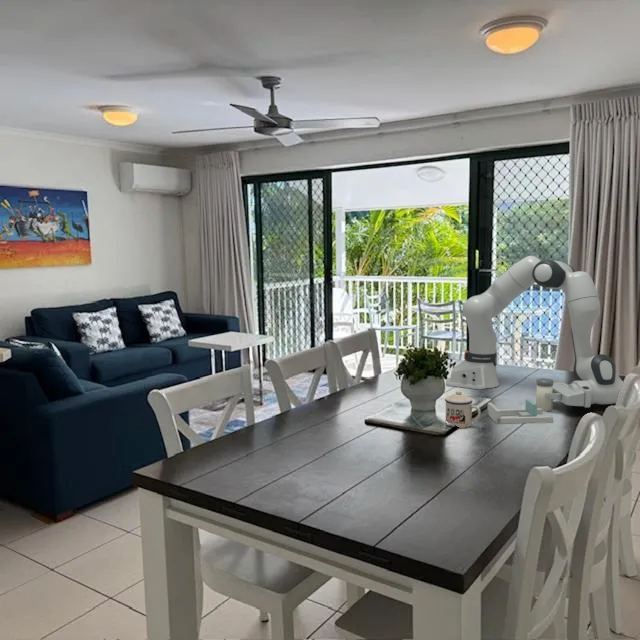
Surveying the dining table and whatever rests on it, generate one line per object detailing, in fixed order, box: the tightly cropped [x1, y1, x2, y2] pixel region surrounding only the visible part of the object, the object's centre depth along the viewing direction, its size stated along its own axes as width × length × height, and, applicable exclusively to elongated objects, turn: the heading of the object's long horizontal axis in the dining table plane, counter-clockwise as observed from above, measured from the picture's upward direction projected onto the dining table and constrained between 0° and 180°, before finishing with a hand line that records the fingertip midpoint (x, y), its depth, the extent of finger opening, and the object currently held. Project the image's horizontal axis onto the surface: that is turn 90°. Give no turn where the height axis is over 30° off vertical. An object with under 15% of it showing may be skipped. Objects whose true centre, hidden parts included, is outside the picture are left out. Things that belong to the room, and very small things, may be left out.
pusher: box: [517, 398, 538, 417], centre depth 212 cm, size 4×7×6 cm, turn 1°
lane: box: [487, 402, 554, 424], centre depth 212 cm, size 19×11×4 cm, turn 91°
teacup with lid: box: [444, 390, 481, 429], centre depth 205 cm, size 12×9×12 cm
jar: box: [535, 377, 554, 412], centre depth 221 cm, size 6×6×11 cm
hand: (542, 393), depth 221 cm, fingers open, 6 cm apart
